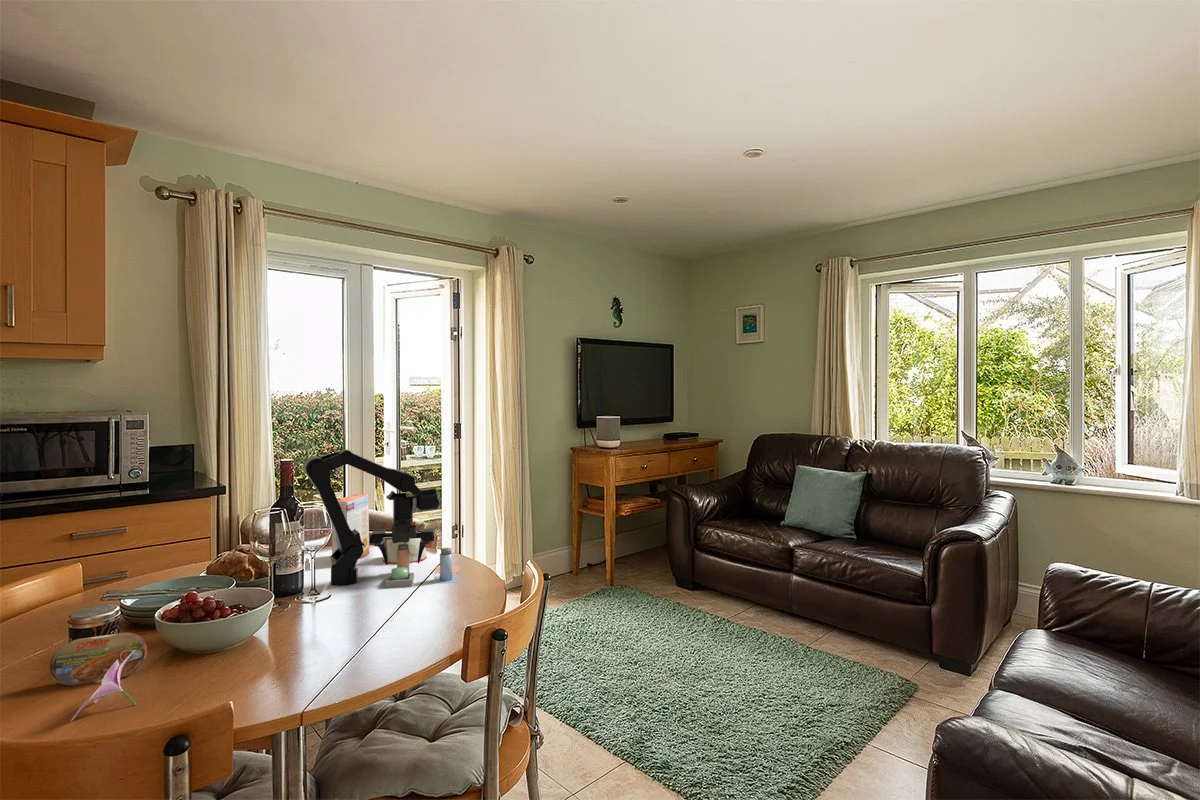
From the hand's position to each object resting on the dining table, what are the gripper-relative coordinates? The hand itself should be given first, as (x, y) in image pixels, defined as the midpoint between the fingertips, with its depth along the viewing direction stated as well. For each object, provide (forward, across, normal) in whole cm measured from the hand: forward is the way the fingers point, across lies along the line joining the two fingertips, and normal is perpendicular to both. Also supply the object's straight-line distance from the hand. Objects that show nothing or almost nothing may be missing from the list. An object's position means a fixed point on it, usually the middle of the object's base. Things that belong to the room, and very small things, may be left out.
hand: (402, 563), depth 187 cm
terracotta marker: (+3, 0, 0) cm, 3 cm away
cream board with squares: (+4, +7, -4) cm, 9 cm away
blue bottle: (+3, +13, -9) cm, 16 cm away
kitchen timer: (+4, -1, +17) cm, 18 cm away
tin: (+4, -52, -56) cm, 76 cm away
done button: (+2, 0, -10) cm, 10 cm away
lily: (+4, -44, -69) cm, 82 cm away
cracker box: (+4, -19, +23) cm, 30 cm away
